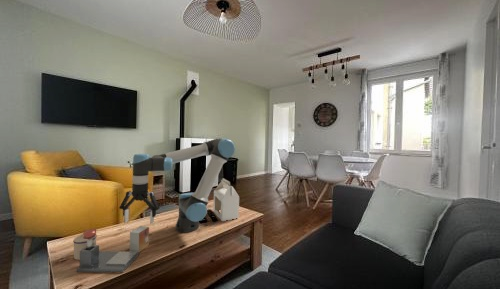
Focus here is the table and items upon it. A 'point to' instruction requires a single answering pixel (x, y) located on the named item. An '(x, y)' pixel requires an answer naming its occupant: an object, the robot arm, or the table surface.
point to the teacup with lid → (81, 245)
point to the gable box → (226, 201)
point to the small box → (139, 239)
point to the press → (105, 260)
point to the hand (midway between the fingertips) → (139, 222)
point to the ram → (89, 237)
